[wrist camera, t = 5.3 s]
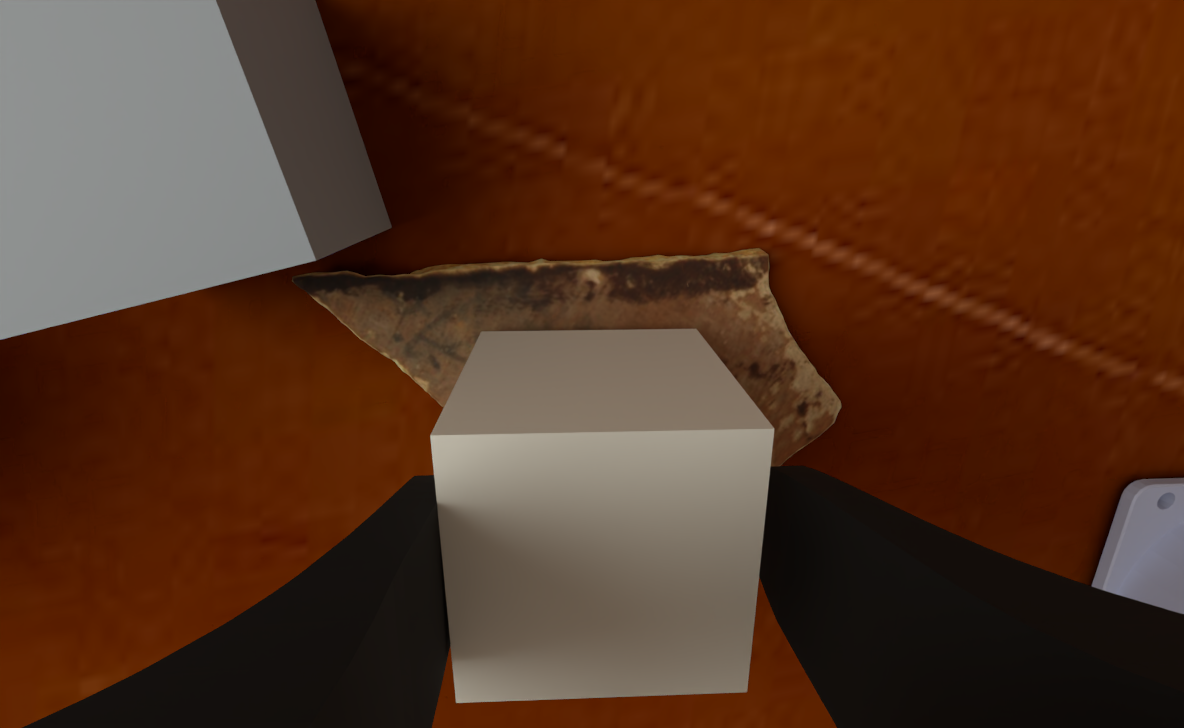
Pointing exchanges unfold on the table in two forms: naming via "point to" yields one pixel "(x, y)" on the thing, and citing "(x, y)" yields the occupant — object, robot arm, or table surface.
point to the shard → (590, 320)
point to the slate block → (168, 152)
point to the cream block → (600, 516)
